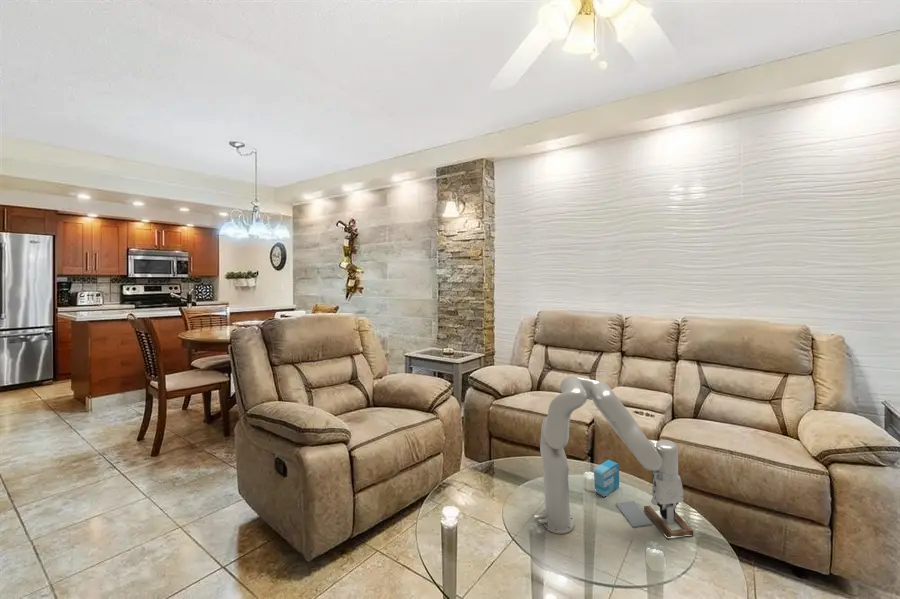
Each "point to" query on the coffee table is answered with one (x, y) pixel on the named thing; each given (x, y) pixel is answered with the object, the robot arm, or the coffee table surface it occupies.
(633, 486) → the coffee table surface
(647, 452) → the robot arm
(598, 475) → the data package
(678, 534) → the brown u-shaped frame
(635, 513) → the felt pad
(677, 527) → the cover plate
